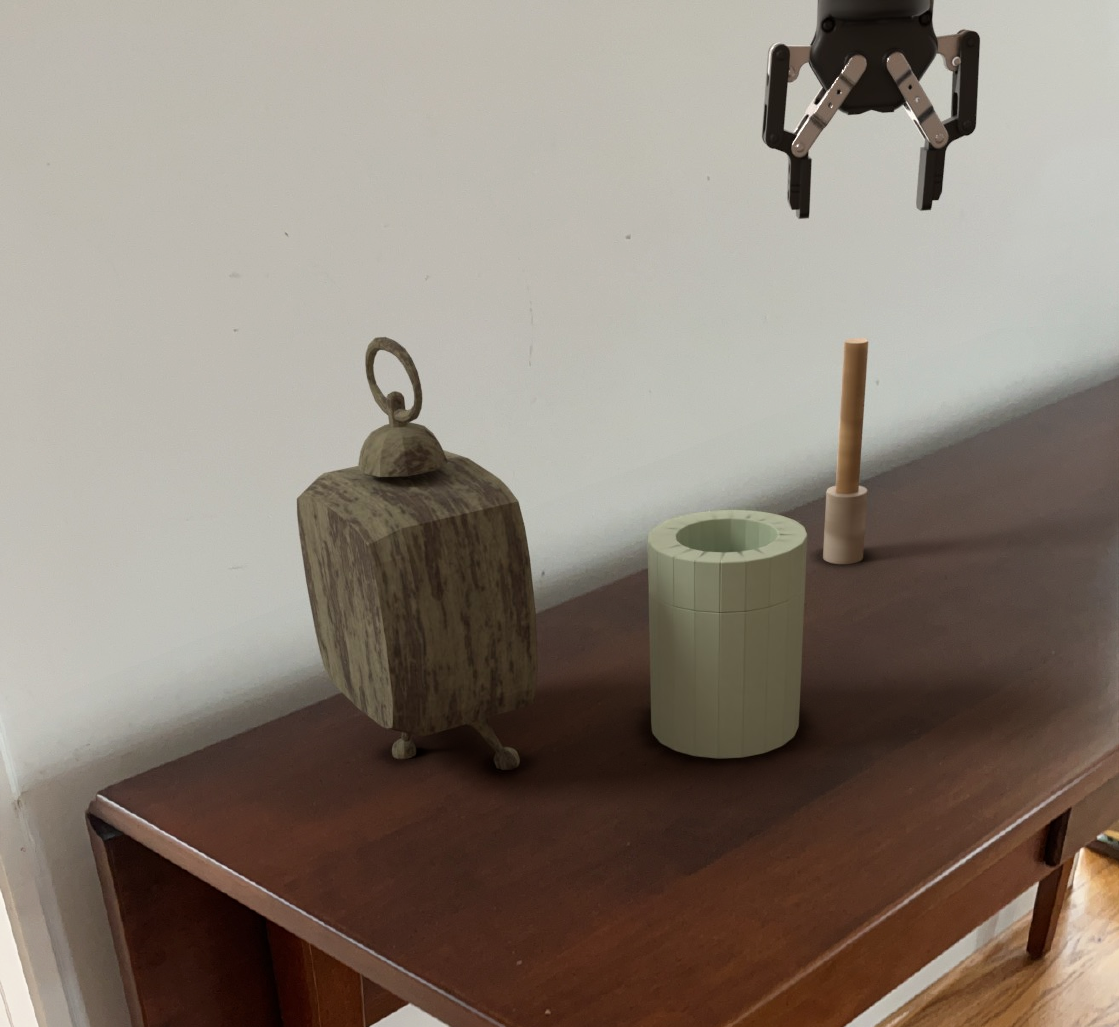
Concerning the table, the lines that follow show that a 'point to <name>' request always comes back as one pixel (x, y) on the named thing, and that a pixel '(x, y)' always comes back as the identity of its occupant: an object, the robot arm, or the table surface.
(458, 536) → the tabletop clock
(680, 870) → the table surface
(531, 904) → the table surface
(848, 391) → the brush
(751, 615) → the cylindrical container
